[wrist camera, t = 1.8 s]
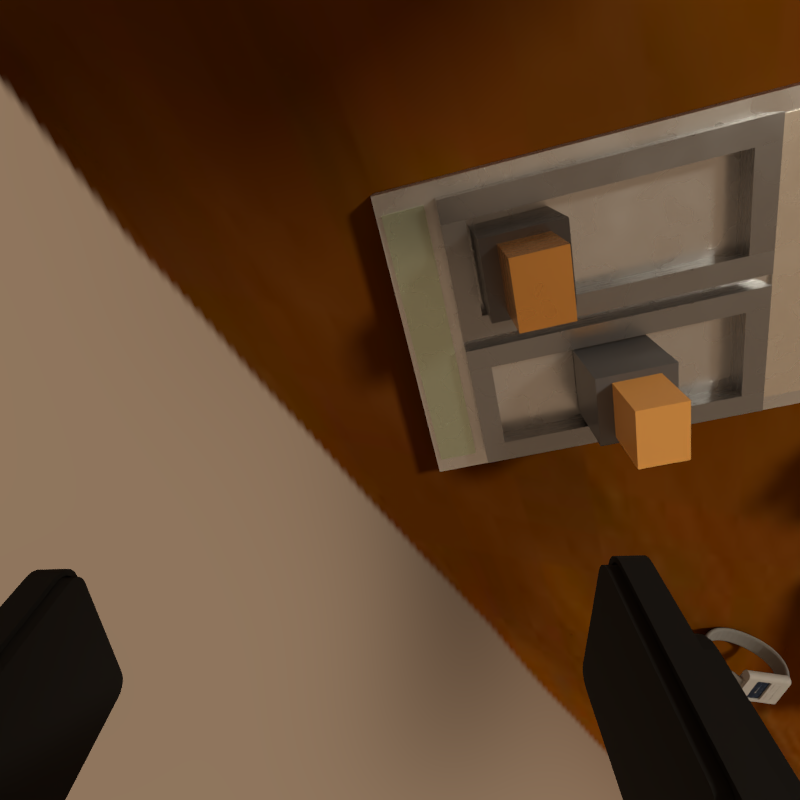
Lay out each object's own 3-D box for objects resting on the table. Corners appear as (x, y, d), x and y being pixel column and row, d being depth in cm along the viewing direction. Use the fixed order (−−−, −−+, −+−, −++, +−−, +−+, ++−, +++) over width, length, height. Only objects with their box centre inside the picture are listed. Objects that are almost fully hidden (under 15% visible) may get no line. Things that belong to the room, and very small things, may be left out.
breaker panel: (819, 76, 25) (999, 51, 17) (788, 390, 32) (905, 469, 25) (372, 193, 28) (358, 216, 20) (438, 458, 35) (446, 548, 27)
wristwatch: (769, 626, 42) (813, 685, 37) (753, 649, 43) (793, 708, 38) (696, 615, 41) (730, 673, 37) (681, 638, 42) (713, 698, 38)
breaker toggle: (645, 334, 29) (710, 388, 23) (647, 396, 31) (708, 463, 25) (572, 349, 30) (616, 407, 23) (578, 410, 31) (621, 479, 25)
